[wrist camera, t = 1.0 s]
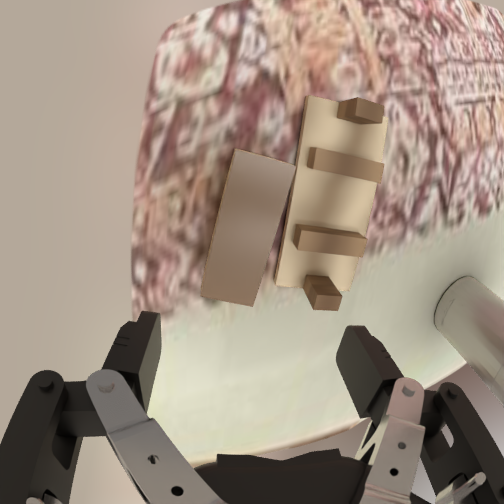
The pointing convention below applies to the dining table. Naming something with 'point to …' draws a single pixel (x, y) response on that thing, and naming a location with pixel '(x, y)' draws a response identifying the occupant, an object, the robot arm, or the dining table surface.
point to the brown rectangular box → (245, 226)
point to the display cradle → (331, 197)
